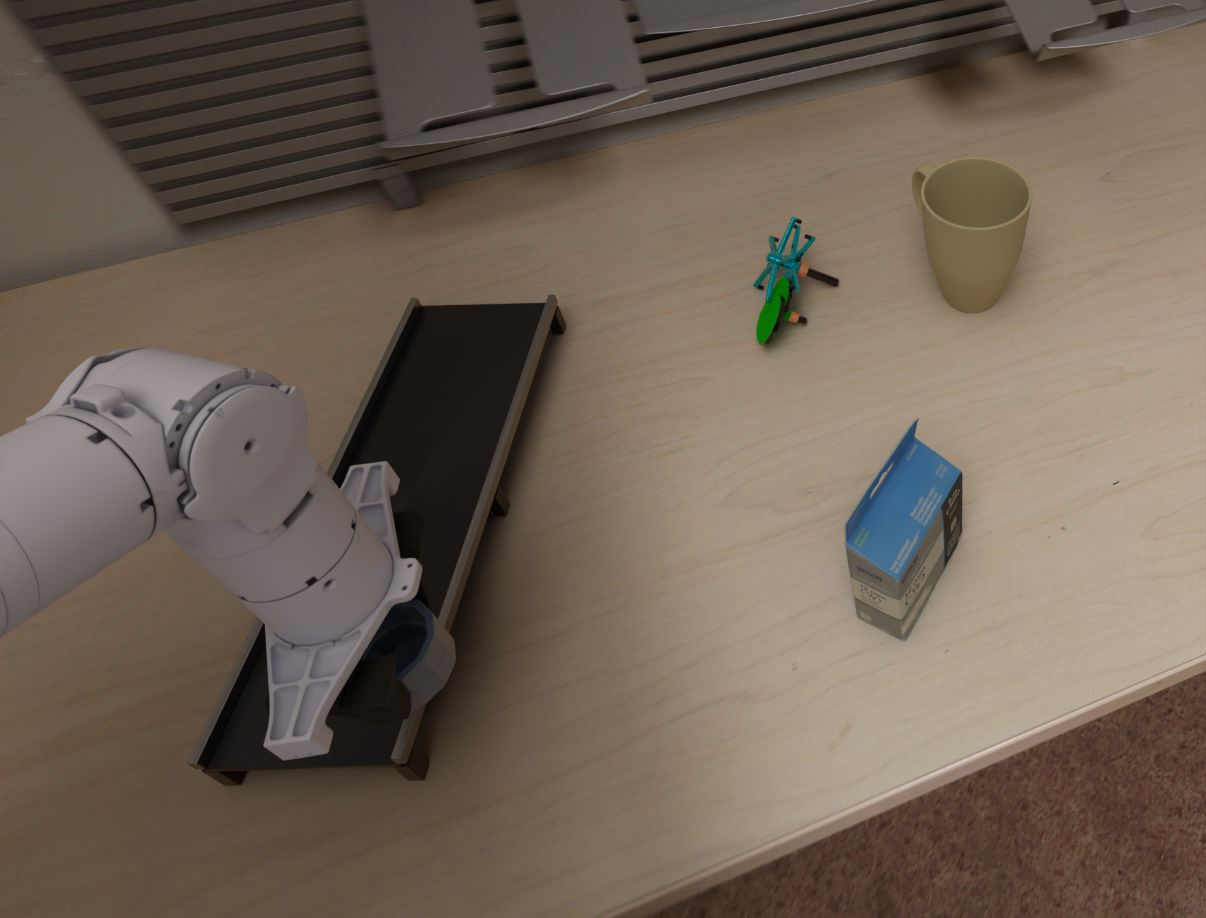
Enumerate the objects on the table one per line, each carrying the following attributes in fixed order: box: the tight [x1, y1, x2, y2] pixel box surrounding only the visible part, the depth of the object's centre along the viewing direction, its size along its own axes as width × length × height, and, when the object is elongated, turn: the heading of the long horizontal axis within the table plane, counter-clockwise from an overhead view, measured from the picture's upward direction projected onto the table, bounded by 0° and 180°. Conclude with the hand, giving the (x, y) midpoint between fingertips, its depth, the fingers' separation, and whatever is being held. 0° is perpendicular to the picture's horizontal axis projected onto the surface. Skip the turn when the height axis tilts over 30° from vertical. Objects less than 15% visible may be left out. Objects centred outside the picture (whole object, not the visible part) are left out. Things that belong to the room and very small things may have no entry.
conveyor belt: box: [186, 294, 567, 787], centre depth 68 cm, size 36×12×4 cm, turn 1°
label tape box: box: [844, 418, 964, 642], centre depth 61 cm, size 9×4×12 cm, turn 151°
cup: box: [361, 599, 457, 710], centre depth 53 cm, size 5×5×4 cm
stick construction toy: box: [752, 216, 840, 346], centre depth 82 cm, size 12×7×8 cm
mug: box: [911, 156, 1033, 314], centre depth 80 cm, size 11×10×12 cm
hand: (402, 662), depth 53 cm, fingers closed on cup, 5 cm apart
